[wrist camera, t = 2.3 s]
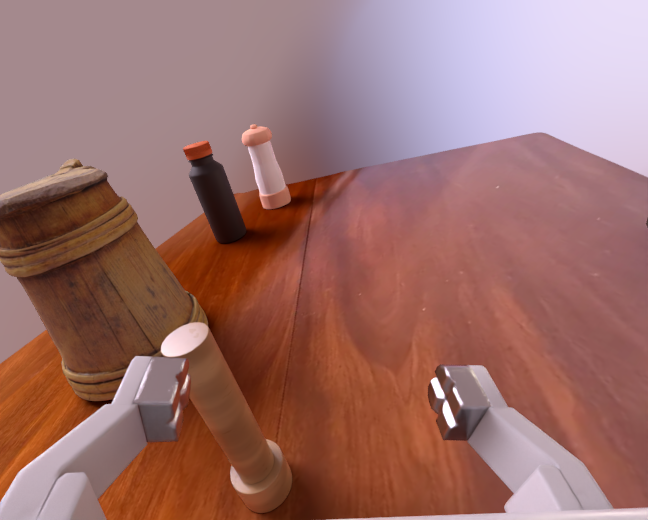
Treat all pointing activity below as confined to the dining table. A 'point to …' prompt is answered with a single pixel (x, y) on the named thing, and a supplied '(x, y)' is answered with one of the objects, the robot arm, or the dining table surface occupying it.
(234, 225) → the bottle
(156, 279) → the tankard
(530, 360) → the dining table surface
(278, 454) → the wooden pestle
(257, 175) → the pepper shaker
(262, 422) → the dining table surface
